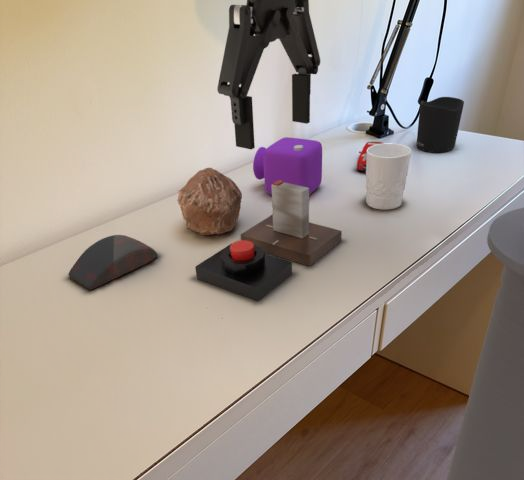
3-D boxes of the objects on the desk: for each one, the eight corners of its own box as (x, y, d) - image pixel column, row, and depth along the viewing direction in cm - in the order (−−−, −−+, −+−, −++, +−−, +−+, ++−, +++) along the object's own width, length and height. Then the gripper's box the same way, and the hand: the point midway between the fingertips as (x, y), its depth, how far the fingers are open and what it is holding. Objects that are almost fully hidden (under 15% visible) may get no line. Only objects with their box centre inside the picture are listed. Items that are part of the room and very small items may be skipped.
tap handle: (309, 234, 88) (309, 186, 83) (302, 238, 87) (302, 190, 82) (279, 226, 91) (278, 179, 86) (273, 230, 90) (271, 183, 85)
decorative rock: (192, 211, 103) (185, 159, 97) (249, 212, 101) (245, 160, 95) (173, 242, 93) (164, 187, 87) (235, 244, 91) (230, 188, 85)
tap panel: (341, 241, 90) (342, 229, 89) (309, 266, 84) (309, 254, 82) (275, 223, 97) (274, 212, 96) (240, 245, 91) (239, 233, 89)
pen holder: (416, 140, 129) (422, 96, 123) (456, 141, 127) (464, 97, 121) (412, 152, 123) (418, 106, 116) (455, 154, 120) (463, 108, 114)
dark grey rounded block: (163, 259, 88) (159, 237, 86) (92, 293, 81) (86, 270, 78) (135, 245, 93) (130, 224, 90) (66, 276, 85) (58, 254, 83)
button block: (292, 274, 82) (292, 251, 80) (257, 301, 77) (256, 277, 74) (232, 255, 88) (230, 233, 86) (196, 278, 83) (193, 256, 80)
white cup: (376, 214, 97) (381, 160, 91) (355, 199, 103) (358, 147, 97) (413, 206, 100) (420, 152, 93) (389, 191, 105) (395, 140, 99)
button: (259, 254, 80) (258, 243, 79) (244, 264, 78) (244, 253, 77) (240, 248, 82) (240, 238, 81) (226, 258, 80) (225, 247, 79)
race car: (379, 175, 113) (380, 156, 110) (353, 173, 114) (355, 155, 112) (387, 154, 122) (389, 136, 120) (364, 153, 124) (365, 135, 121)
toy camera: (262, 178, 115) (260, 130, 108) (324, 182, 111) (325, 133, 105) (246, 197, 107) (243, 147, 100) (312, 203, 103) (312, 151, 97)
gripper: (301, -54, 73) (301, 109, 86) (173, -42, 58) (197, 154, 71) (349, -56, 69) (341, 115, 82) (225, -43, 54) (240, 164, 67)
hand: (274, 134), depth 77 cm, fingers open, 13 cm apart
